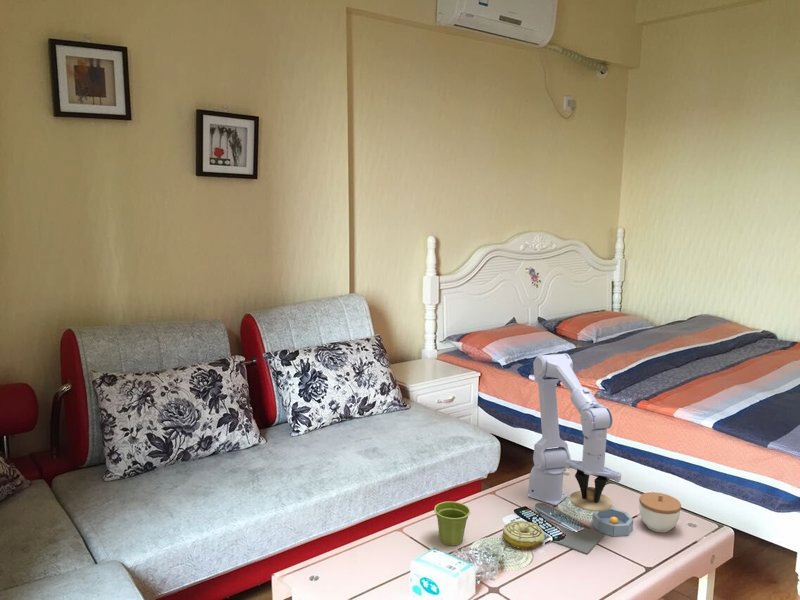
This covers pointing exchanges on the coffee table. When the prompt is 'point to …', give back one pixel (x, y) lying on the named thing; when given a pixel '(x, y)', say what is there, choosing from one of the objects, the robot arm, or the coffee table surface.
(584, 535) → the mat
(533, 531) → the decorated donut
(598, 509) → the lid
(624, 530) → the bowl
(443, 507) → the plant pot
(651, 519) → the lidded jar
